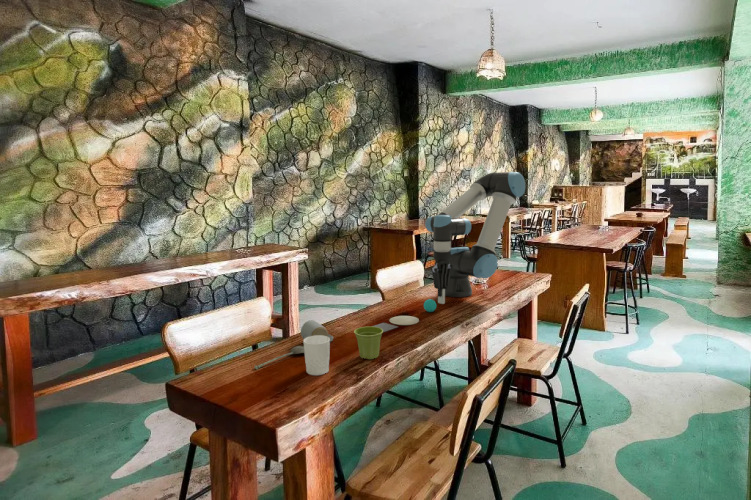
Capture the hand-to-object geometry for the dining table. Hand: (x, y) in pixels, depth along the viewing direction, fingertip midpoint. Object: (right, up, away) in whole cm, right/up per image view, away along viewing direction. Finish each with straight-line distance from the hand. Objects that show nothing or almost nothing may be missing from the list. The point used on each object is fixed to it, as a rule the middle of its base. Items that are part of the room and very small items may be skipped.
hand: (441, 303), depth 211 cm
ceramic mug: (-50, -10, -41) cm, 65 cm away
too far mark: (-26, -7, -26) cm, 37 cm away
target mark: (-18, -5, -17) cm, 25 cm away
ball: (-6, 0, -6) cm, 8 cm away
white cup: (-47, -13, -67) cm, 82 cm away
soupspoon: (-59, -13, -56) cm, 82 cm away
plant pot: (-31, -11, -55) cm, 65 cm away
